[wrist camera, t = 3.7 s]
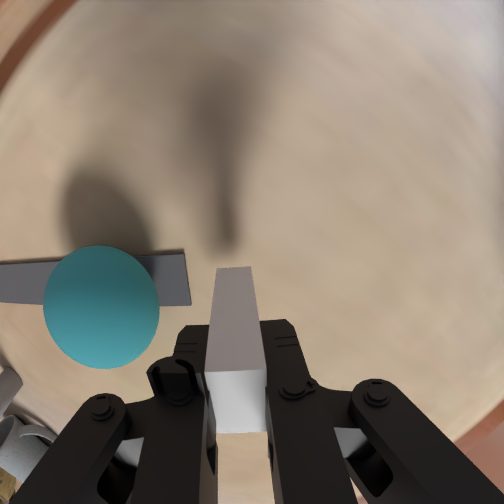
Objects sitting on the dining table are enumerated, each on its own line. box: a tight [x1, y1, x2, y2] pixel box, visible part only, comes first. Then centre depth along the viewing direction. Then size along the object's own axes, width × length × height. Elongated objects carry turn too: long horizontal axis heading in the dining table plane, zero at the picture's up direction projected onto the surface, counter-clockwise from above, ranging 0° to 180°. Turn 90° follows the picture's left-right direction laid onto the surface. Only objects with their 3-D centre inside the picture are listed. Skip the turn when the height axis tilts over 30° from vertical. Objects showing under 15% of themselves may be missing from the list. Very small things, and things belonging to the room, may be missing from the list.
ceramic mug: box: [0, 415, 58, 483], centre depth 18 cm, size 11×8×8 cm
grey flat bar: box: [0, 253, 192, 306], centre depth 15 cm, size 16×3×1 cm, turn 93°
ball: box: [43, 245, 159, 369], centre depth 12 cm, size 6×6×6 cm
